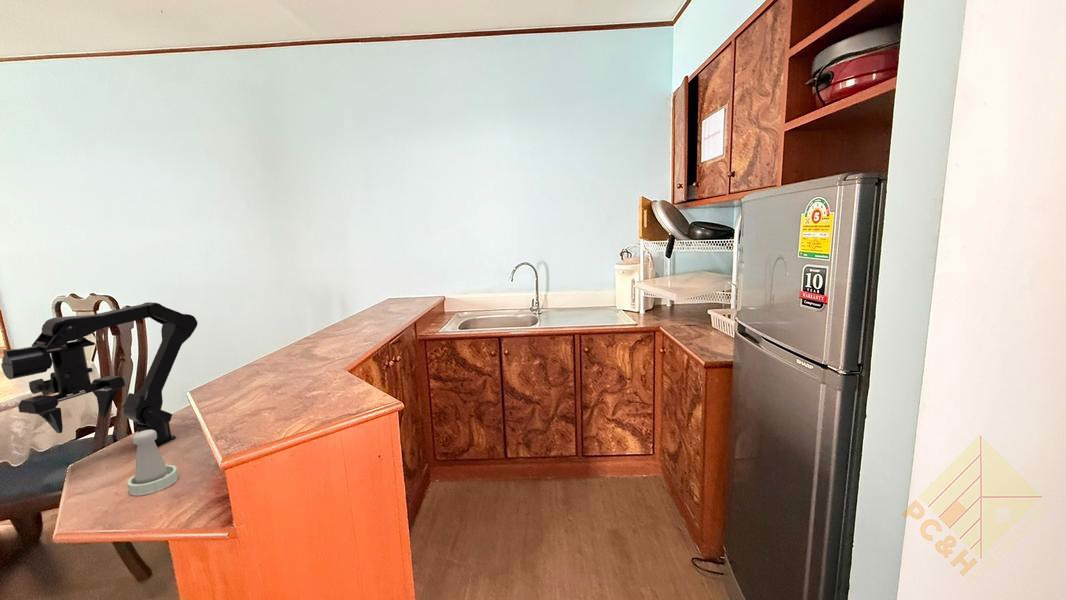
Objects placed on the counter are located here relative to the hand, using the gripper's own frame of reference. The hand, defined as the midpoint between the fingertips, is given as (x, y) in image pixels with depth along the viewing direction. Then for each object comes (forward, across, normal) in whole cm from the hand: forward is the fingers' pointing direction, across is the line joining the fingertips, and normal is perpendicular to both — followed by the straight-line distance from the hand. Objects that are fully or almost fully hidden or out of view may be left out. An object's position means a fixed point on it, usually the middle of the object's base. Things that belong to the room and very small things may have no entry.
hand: (82, 424), depth 108 cm
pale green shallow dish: (+12, +4, +26) cm, 28 cm away
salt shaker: (+12, +4, +25) cm, 28 cm away
